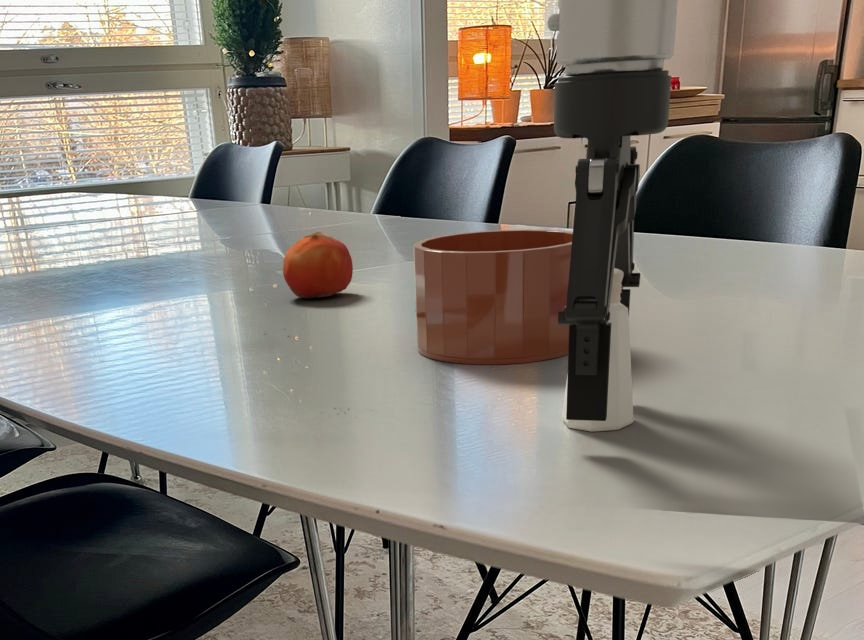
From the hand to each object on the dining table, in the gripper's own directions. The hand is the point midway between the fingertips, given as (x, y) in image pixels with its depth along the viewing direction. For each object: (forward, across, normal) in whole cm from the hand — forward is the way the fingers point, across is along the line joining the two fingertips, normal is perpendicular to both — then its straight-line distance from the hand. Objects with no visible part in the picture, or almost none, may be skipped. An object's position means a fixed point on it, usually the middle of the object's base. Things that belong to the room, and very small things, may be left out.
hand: (597, 395), depth 77 cm
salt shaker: (+2, 0, 0) cm, 2 cm away
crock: (+2, -26, -13) cm, 29 cm away
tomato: (+2, -54, -43) cm, 69 cm away
